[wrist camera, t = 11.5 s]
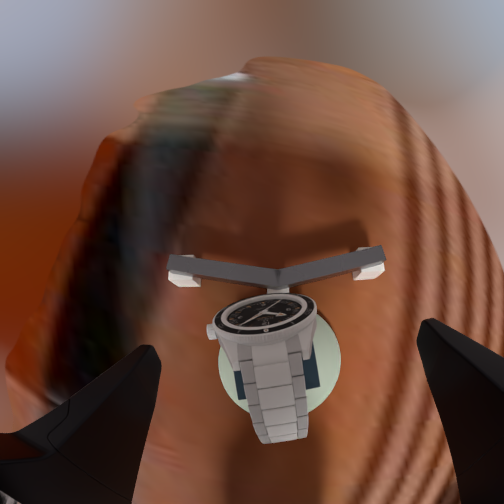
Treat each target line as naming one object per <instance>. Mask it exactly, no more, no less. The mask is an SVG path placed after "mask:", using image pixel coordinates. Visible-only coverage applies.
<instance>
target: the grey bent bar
mask: <svg viewBox="0 0 504 504" xmlns="http://www.w3.org/2000/svg"><path fill="white" fill-rule="evenodd" d="M385 260H386V257H385V254H384V251H383V249H382V246H381V245H379V246H375V247H371V248H367V249H363V250H359V251H355V252H351V253H346V254H342V255H338V256H334V257H330V258H325V259H321V260H317V261H313V262H308V263H304V264H300V265H295V266H291V267H287V268H282V269H278V270H277V269H270V268H263V267H256V266H249V265H241V264H234V263H227V262H220V261H214V260H207V259H200V258H193V257H186V256H180V255H173V254H170V256H169V260H168V264H167V268H166V269H167V270H168V271H169V272H171V273H173V274H179V275H184V276H190V277H196V278H202V279H208V280H214V281H220V282H227V283H233V284H239V285H246V286H253V287H259V288H266V289H273V290H281V289H286V288H290V287H294V286H299V285H303V284H307V283H311V282H315V281H319V280H323V279H327V278H331V277H335V276H339V275H343V274H347V273H351V272H355V271H359V270H362V269H366V268H370V267H373V266H377V265H381V264H382V263H383V262H384V261H385Z"/></svg>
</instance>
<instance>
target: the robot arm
mask: <svg viewBox="0 0 504 504" xmlns="http://www.w3.org/2000/svg"><path fill="white" fill-rule="evenodd" d="M417 347H418V350H419V353H420V357H421V360H422V364H423V367H424V371H425V375H426V378H427V382H428V384H429V387H430V390H431V393H432V395H433V398H434V401H435V404H436V407H437V410H438V412H439V415H440V419H441V422H442V425H443V428H444V431H445V435H446V438H447V442H448V445H449V449H450V453H451V456H452V460H453V465H454V469H455V473H456V477H457V478H456V479H457V483H458V489H459V494H460V500H461V504H504V358H503V357H502V356H500V355H498V354H496V353H495V352H493V351H491V350H490V349H488V348H486V347H484V346H483V345H481V344H479V343H477V342H476V341H474V340H472V339H470V338H469V337H467V336H465V335H463V334H461V333H460V332H458V331H456V330H454V329H452V328H451V327H449V326H447V325H445V324H443V323H442V322H440V321H438V320H436V319H434V318H430V319H425V320H423V321H422V322H421V326H420V329H419V333H418V336H417ZM160 374H161V361H160V359H159V357H158V355H157V352H156V350H155V348H154V347H153V346H152V345H140V346H139V347H138V348H136V349H135V350H134V351H132V352H131V353H130V354H128V355H127V356H126V357H124V358H123V359H122V360H120V361H119V362H118V363H116V364H115V365H114V366H112V367H111V368H110V369H108V370H107V371H106V372H104V373H103V374H101V375H100V376H99V377H97V378H96V379H95V380H93V381H92V382H91V383H89V384H88V385H87V386H85V387H84V388H83V389H81V390H80V391H79V392H77V393H76V394H74V395H73V396H72V397H71V398H70V399H68V400H66V401H65V402H64V403H62V404H61V405H59V406H58V407H57V408H55V409H54V410H52V411H51V412H49V413H48V414H46V415H44V416H43V417H41V418H39V419H38V420H36V421H34V422H33V423H31V424H29V425H28V426H26V427H24V428H22V429H21V430H19V431H16V432H13V433H0V504H132V502H131V501H132V498H133V493H134V488H135V484H136V479H137V475H138V471H139V466H140V462H141V458H142V454H143V450H144V446H145V442H146V438H147V434H148V430H149V426H150V423H151V419H152V415H153V412H154V408H155V403H156V398H157V392H158V385H159V379H160Z"/></svg>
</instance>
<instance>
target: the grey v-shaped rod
mask: <svg viewBox="0 0 504 504" xmlns="http://www.w3.org/2000/svg"><path fill="white" fill-rule="evenodd" d="M367 248H371V247H363V248H358V249H357V250H356V251H359V250H363V249H367ZM180 256H186V257H193V258H196V257H195V256H194V255H180ZM384 271H385V269H384V262H383V263H382V264H381V265H377V266H373V267H370V268H366V269H362V270H359V271H355V272H352V273H353V280H364V279H375V278H376V277H377V276H379V275H380V274H381V273H382V272H384ZM168 280H169V281H171V282H172V283H174V284H175V285H177V286H178V287H201V278H196V277H190V276H184V275H179V274H173V273H171V272H169V278H168ZM271 293H289V288H286V289H281V290H273V289H267V294H271Z"/></svg>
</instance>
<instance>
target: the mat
mask: <svg viewBox="0 0 504 504" xmlns="http://www.w3.org/2000/svg"><path fill="white" fill-rule="evenodd" d="M316 323H317V328H316V331H315V334H314V337H313V345H314V350H315V356H316V362H317V368H318V374H319V381H320V387H317V388H313V389H308V390H306V396H307V407H308V412H310V411H312V410H313V409H315V408H316V407H317V406H319V405H320V404H321V403H322V402H323V401H324V400H325V399H326V398H327V397H328V395H329V394H330V393H331V391H332V389H333V388H334V386H335V384H336V381H337V379H338V376H339V372H340V365H341V354H340V348H339V344H338V341H337V339H336V336H335V334H334V332H333V331H332V329H331V328H330V326H329V325H328V324H327V323H326V321H325V320H324V319H322V318H321V317H320V316H319V315H318V314H316ZM218 366H219V374H220V377H221V381H222V383H223V386H224V388H225V390H226V391H227V393H228V395H229V396H230V397H231V398H232V400H233V401H234V402H235V403H236V404H237V405H238V406H240V407H241V408H242V409H244V410H245V411H247V412H249V409H248V403H247V399H244V400H238V396H237V390H236V384H235V378H234V371H233V369H232V367H231V365H230V363H229V360H228V358H227V356H226V353H225V352H224V350H223V348H222V347H220V351H219V358H218ZM249 413H250V412H249Z"/></svg>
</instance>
